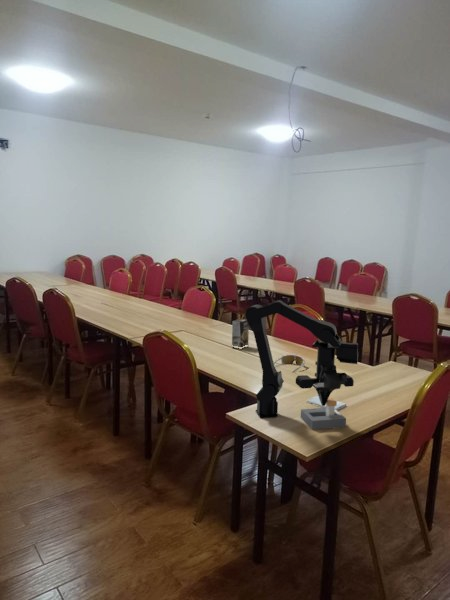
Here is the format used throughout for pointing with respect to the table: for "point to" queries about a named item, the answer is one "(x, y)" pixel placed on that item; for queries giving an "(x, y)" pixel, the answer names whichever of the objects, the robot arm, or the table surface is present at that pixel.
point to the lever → (330, 406)
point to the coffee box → (240, 333)
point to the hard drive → (316, 401)
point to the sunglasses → (292, 360)
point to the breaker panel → (322, 419)
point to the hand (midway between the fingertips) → (323, 405)
